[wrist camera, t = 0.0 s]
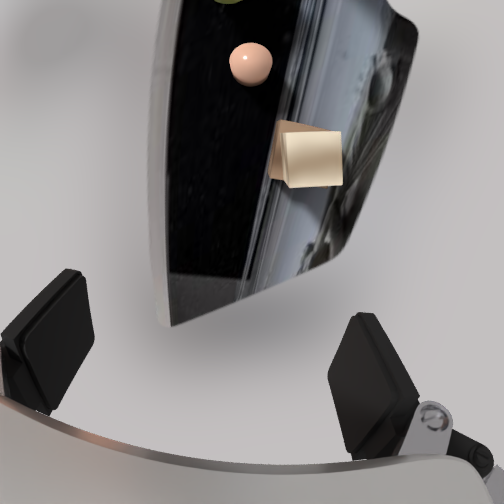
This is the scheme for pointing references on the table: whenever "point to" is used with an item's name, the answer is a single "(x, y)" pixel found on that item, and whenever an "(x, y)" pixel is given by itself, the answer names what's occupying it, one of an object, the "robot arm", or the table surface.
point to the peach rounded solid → (250, 64)
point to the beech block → (311, 158)
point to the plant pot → (227, 1)
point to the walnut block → (276, 157)
